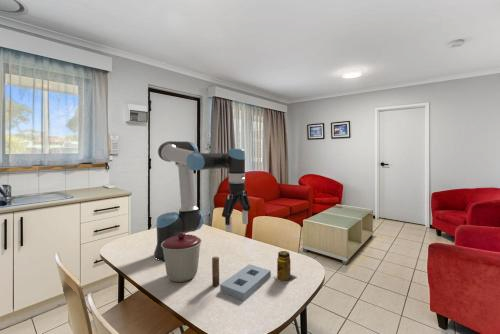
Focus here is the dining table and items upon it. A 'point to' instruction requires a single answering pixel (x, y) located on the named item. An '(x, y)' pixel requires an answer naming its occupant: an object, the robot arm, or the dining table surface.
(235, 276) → the hole block
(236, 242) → the dining table surface
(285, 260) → the condiment
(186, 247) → the canister
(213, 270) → the peg
